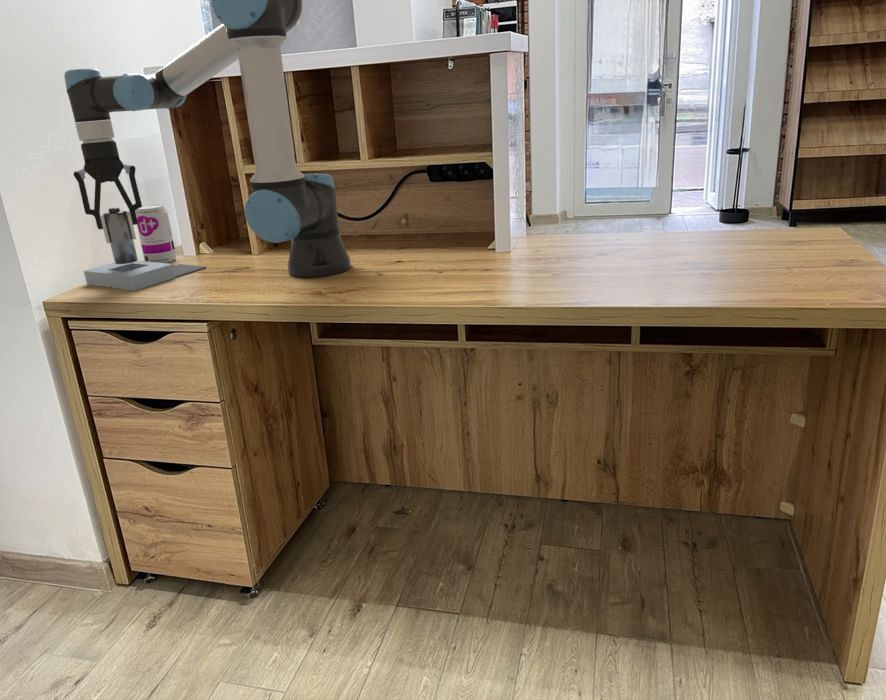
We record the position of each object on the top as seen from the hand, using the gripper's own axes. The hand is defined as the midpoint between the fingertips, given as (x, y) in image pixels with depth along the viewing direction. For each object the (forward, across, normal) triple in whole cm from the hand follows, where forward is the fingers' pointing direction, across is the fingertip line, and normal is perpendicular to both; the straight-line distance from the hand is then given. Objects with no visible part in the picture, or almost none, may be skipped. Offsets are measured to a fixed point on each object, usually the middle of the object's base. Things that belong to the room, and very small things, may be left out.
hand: (121, 240), depth 170 cm
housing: (+10, 0, 0) cm, 10 cm away
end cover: (+5, 0, 0) cm, 5 cm away
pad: (+10, -11, -3) cm, 16 cm away
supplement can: (+10, -8, -19) cm, 23 cm away
